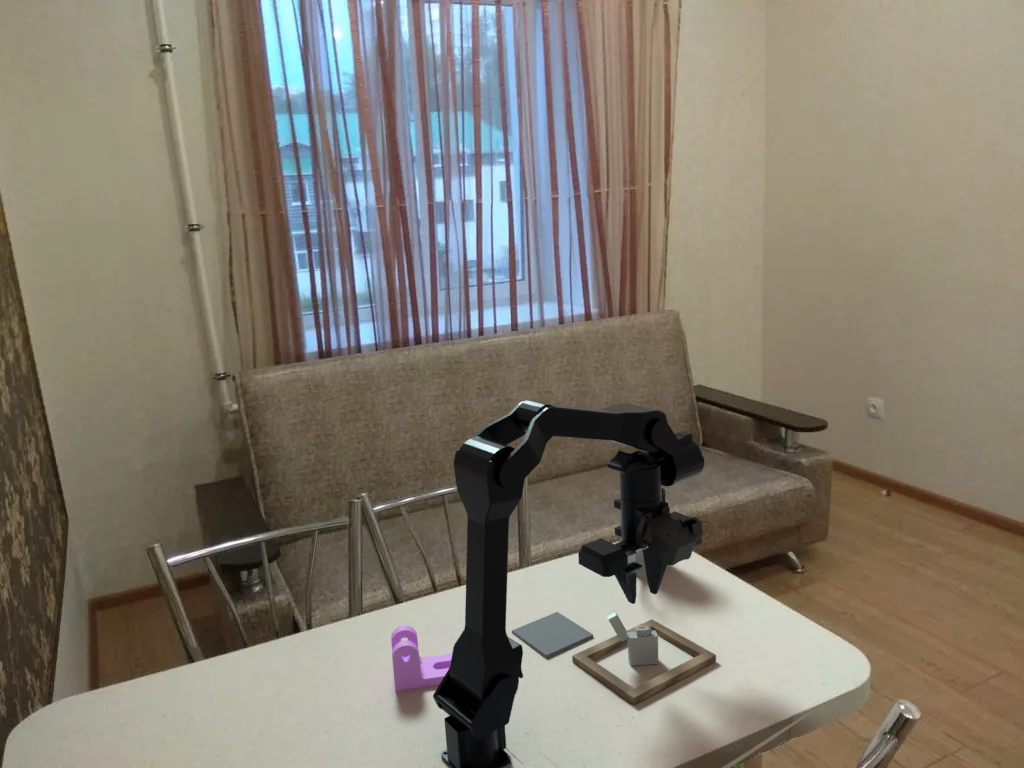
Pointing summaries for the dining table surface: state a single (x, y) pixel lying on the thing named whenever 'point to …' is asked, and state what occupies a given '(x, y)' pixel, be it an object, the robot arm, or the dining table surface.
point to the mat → (552, 634)
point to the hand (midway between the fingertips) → (642, 598)
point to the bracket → (415, 662)
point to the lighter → (637, 642)
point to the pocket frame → (653, 685)
